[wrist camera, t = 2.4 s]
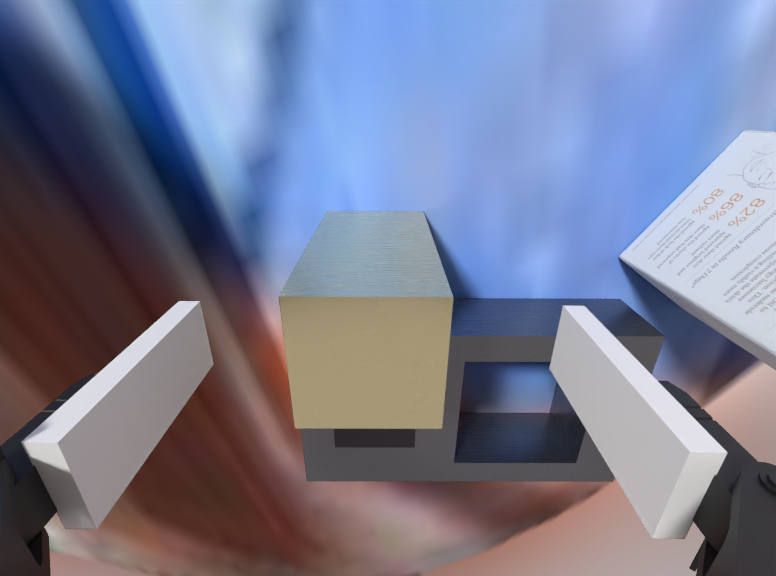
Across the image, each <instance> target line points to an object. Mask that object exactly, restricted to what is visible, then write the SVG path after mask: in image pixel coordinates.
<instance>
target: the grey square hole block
mask: <svg viewBox="0 0 776 576" xmlns="http://www.w3.org/2000/svg"><path fill="white" fill-rule="evenodd" d="M563 305H564V306H585V307H586V308H587V309H588V310H589V311H590V312H591V313H592V314H593V315H594V316H595V317H596V318H597V319H598V320H599V321H600V322H601V323H602V324H603V325H604V326H605V327H606V328H607V329H608V331H609V332H610V333H611V334H612V335H613V336H614V337H615V338H616V339H617V340H618V341H619V342H620V343H621V344H622V345H623V346H624V347H625V348H626V349H627V350H628V351H629V352H630V353H631V354H632V355H633V356H634V357H635V358H636V359H637V360H638V361H639V362H640V363H641V364H642V365H643V366H644V367H645V368H646V369H647V371H648V372H649V373H650V374H652V372H653V369H654V366H655V363H656V361H657V358H658V355H659V352H660V349H661V347H662V344H663V341H664V338H665V336H664V335H663V334H662V333H660V332H659V331H658V330H657V329H656V328H654V327H653V326H652V325H651V324H649V323H648V322H647V321H646V320H645V319H643V318H642V317H641V316H640V315H639V314H637V313H636V312H635V311H634V310H633V309H631V308H630V307H629V306H628V305H627V304H625V303H624V302H623V301H622V300H621V299H479V298H453V308H452V320H451V331H450V343H449V354H448V366H447V377H446V389H445V400H444V412H443V424H442V429H333V428H301V435H302V443H303V452H304V461H305V469H306V478H307V481H613V480H614V475H613V473H612V472H611V470H610V468H609V467H608V465H607V463H606V462H605V460H604V458H603V457H602V455H601V453H600V452H599V450H598V448H597V447H596V445H595V443H594V442H593V440H592V438H591V437H590V435H589V433H588V432H587V430H586V428H585V427H584V425H583V424H582V422H581V420H580V419H579V417H578V415H577V414H576V412H575V410H574V409H573V407H572V405H571V404H570V402H569V400H568V399H567V397H566V395H565V394H564V392H563V390H562V389H561V387H560V385H559V384H558V382H557V384H556V388H555V393H554V397H553V401H552V405H551V409H550V413H459V411H460V402H461V393H462V384H463V375H464V366H465V362H551V359H552V354H553V349H554V345H555V340H556V336H557V331H558V326H559V322H560V317H561V312H562V308H563Z"/></svg>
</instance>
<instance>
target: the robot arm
mask: <svg viewBox="0 0 776 576" xmlns="http://www.w3.org/2000/svg"><path fill="white" fill-rule="evenodd" d="M212 366H213V359H212V354H211V350H210V345H209V340H208V336H207V331H206V326H205V322H204V317H203V312H202V308H201V303H200V301H179V302H177V303H176V304H175V305H174V306H173V307H172V308H171V309H170V310H168V311H167V312H166V313H165V314H164V315H163V316H162V317H161V318H159V319H158V320H157V321H156V322H155V323H154V324H153V325H152V326H151V327H149V328H148V329H147V330H146V331H145V332H144V333H143V334H142V335H140V336H139V337H138V338H137V339H136V340H135V341H134V342H133V343H131V344H130V345H129V346H128V347H127V348H126V349H125V350H124V351H123V352H121V353H120V354H119V355H118V356H117V357H116V358H115V359H114V360H112V361H111V362H110V363H109V364H108V365H107V366H106V367H105V368H103V369H102V370H101V371H100V372H99V373H98V374H91V375H90V376H88V377H86V378H84V379H82V380H81V381H79V382H77V383H75V384H73V385H72V386H70V387H69V388H68V389H67V390H66V391H65V392H63V393H62V394H61V395H60V396H59V397H58V398H56V401H53V402H52V403H51V404H49V405H48V406H47V407H46V408H45V409H44V411H43V412H40V413H39V414H38V415H37V416H35V417H34V418H33V419H32V420H31V421H30V422H28V423H27V424H26V425H25V426H24V427H23V428H21V429H20V430H19V431H18V432H17V433H16V434H14V435H13V436H12V437H11V438H10V439H9V440H7V441H6V442H5V443H4V444H3V445H2V446H0V576H50V553H49V536H48V534H47V532H46V529H45V528H44V526H45V525H46V524H47V523H48V521H49V520H50V519H51V518H52V517H53V516H54V514H55V513H56V512H57V514H58V516H59V518H60V520H61V522H62V524H63V526H64V528H65V529H98V527H99V526H100V524H101V523H102V522H103V520H104V519H105V517H106V516H107V515H108V513H109V512H110V510H111V509H112V507H113V506H114V505H115V503H116V502H117V500H118V499H119V498H120V496H121V495H122V493H123V492H124V490H125V489H126V488H127V486H128V485H129V483H130V482H131V481H132V479H133V478H134V476H135V475H136V473H137V472H138V471H139V469H140V468H141V466H142V465H143V464H144V462H145V461H146V459H147V458H148V456H149V455H150V454H151V452H152V451H153V449H154V448H155V447H156V445H157V444H158V442H159V441H160V439H161V438H162V437H163V435H164V434H165V432H166V431H167V430H168V428H169V427H170V425H171V424H172V422H173V421H174V420H175V418H176V417H177V415H178V414H179V413H180V411H181V410H182V408H183V407H184V405H185V404H186V403H187V401H188V400H189V398H190V397H191V396H192V394H193V393H194V391H195V390H196V388H197V387H198V386H199V384H200V383H201V381H202V380H203V379H204V377H205V376H206V374H207V373H208V371H209V370H210V369H211V367H212ZM549 369H550V370H551V372H552V374H553V375H554V377H555V379H556V380H557V382H558V384H559V385H560V387H561V389H562V390H563V392H564V394H565V395H566V397H567V399H568V400H569V402H570V404H571V405H572V407H573V409H574V410H575V412H576V414H577V415H578V417H579V419H580V420H581V422H582V424H583V425H584V427H585V428H586V430H587V432H588V433H589V435H590V437H591V438H592V440H593V442H594V443H595V445H596V447H597V448H598V450H599V452H600V453H601V455H602V457H603V458H604V460H605V462H606V463H607V465H608V467H609V468H610V470H611V472H612V473H613V475H614V477H615V478H616V480H617V482H618V483H619V485H620V486H621V488H622V490H623V491H624V493H625V495H626V496H627V498H628V500H629V501H630V503H631V505H632V506H633V508H634V509H635V511H636V513H637V515H638V516H639V518H640V520H641V521H642V523H643V525H644V526H645V528H646V529H647V531H648V533H649V535H650V536H651V538H654V539H656V538H657V539H659V538H660V539H685V537H686V535H687V533H688V531H689V529H690V527H691V525H692V523H693V521H694V523H695V524H696V525H697V527H698V528H699V529H700V531H701V532H702V534H703V535H704V536H705V539H704V541H703V543H702V545H701V547H700V549H699V551H698V553H697V554H696V556H695V558H694V560H693V562H692V564H691V566H690V569H691V570H693V571H696V569H697V574H696V576H776V466H775V465H772V464H769V463H765V462H757V460H756V459H754V458H753V456H751V454H749V453H748V452H747V451H746V450H745V449H744V448H743V447H742V446H741V445H740V444H739V443H738V442H737V441H736V440H735V439H734V438H733V437H732V436H731V435H730V434H729V433H728V432H726V430H725V429H724V428H722V427H721V426H720V425H719V424H718V423H717V422H716V421H713V420H712V417H711V416H710V415H709V414H708V413H707V412H706V411H705V410H704V409H701V406H700V405H699V404H698V403H697V402H696V401H695V400H693V399H692V398H691V397H690V396H689V395H688V394H687V393H686V392H684V391H683V390H681V389H680V388H678V387H676V386H675V385H673V384H671V383H670V382H668V381H657V380H656V379H655V378H654V377H653V376H652V375H651V374H650V373H649V372H648V371H647V369H646V368H645V367H644V366H643V365H642V364H641V363H640V362H639V361H638V360H637V359H636V358H635V357H634V356H633V355H632V354H631V353H630V352H629V351H628V350H627V349H626V348H625V347H624V346H623V345H622V344H621V343H620V342H619V341H618V340H617V339H616V338H615V337H614V336H613V335H612V334H611V333H610V332H609V331H608V329H607V328H606V327H605V326H604V325H603V324H602V323H601V322H600V321H599V320H598V319H597V318H596V317H595V316H594V315H593V314H592V313H591V312H590V311H589V310H588V309H587V308H586V307H585V306H564V305H563V308H562V312H561V317H560V322H559V326H558V331H557V336H556V340H555V345H554V349H553V354H552V359H551V363H550V368H549Z"/></svg>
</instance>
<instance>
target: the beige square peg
mask: <svg viewBox="0 0 776 576" xmlns="http://www.w3.org/2000/svg"><path fill="white" fill-rule="evenodd" d="M279 303H280V312H281V320H282V328H283V336H284V344H285V352H286V360H287V368H288V376H289V384H290V392H291V400H292V408H293V416H294V424H295V428H333V429H442V424H443V412H444V400H445V389H446V377H447V366H448V354H449V343H450V331H451V320H452V308H453V294H452V292H451V289H450V286H449V283H448V280H447V277H446V274H445V272H444V269H443V266H442V263H441V260H440V257H439V254H438V252H437V249H436V246H435V243H434V240H433V237H432V234H431V232H430V229H429V226H428V223H427V220H426V217H425V214H424V212H423V211H326V213H325V215H324V217H323V219H322V220H321V222H320V224H319V226H318V227H317V229H316V231H315V233H314V234H313V236H312V238H311V240H310V242H309V243H308V245H307V247H306V249H305V250H304V252H303V254H302V256H301V258H300V259H299V261H298V263H297V265H296V266H295V268H294V270H293V272H292V274H291V275H290V277H289V279H288V281H287V282H286V284H285V286H284V288H283V289H282V291H281V293H280V295H279Z"/></svg>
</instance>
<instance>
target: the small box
mask: <svg viewBox="0 0 776 576" xmlns="http://www.w3.org/2000/svg"><path fill="white" fill-rule="evenodd" d="M619 257H620V259H621V260H622V261H623V262H625V263H626V264H627V265H629V266H630V267H631V268H632V269H634V270H635V271H636V272H637V273H639V274H640V275H641V276H642V277H643V278H645V279H646V280H647V281H648V282H650V283H651V284H652V285H653V286H655V287H656V288H657V289H658V290H660V291H661V292H662V293H663V294H665V295H666V296H667V297H668V298H670V299H671V300H672V301H673V302H675V303H676V304H677V305H678V306H680V307H681V308H682V309H684V310H685V311H687V312H688V313H690V314H691V315H693V316H694V317H696V318H697V319H699V320H700V321H702V322H703V323H705V324H707V325H708V326H710V327H711V328H713V329H714V330H716V331H717V332H719V333H720V334H722V335H723V336H725V337H726V338H728V339H729V340H731V341H732V342H734V343H736V344H737V345H739V346H740V347H742V348H743V349H745V350H746V351H748V352H749V353H751V354H752V355H754V356H755V357H757V358H758V359H760V360H761V361H763V362H764V363H766V364H768V365H769V366H770V367H772V368H774V369H775V370H776V132H764V131H744V132H742V133H741V134H740V135H739V136H738V137H737V138H736V139H735V140H734V141H733V142H732V143H731V144H730V145H729V146H728V147H727V148H726V149H725V150H724V151H723V152H722V153H721V154H720V155H719V156H718V157H717V158H716V159H715V160H714V161H713V162H712V163H711V164H710V165H709V166H708V167H707V168H706V169H705V170H704V171H703V172H702V173H701V174H700V175H699V176H698V177H697V178H696V179H695V180H694V181H693V182H692V183H691V184H690V185H689V186H688V187H687V188H686V189H685V190H684V191H683V192H682V193H681V194H680V195H679V196H678V197H677V198H676V199H675V200H674V201H673V202H672V203H671V204H670V205H669V206H668V207H667V208H666V209H665V210H664V211H663V212H662V213H661V214H660V215H659V216H658V217H657V218H656V219H655V220H654V221H653V222H652V223H651V224H650V225H649V226H648V227H647V228H646V230H645V231H644V232H643V233H642V234H641V235H640V236H639V237H638V238H637V239H636V240H635V241H634V242H633V243H632V244H631V245H630V246H629V247H628V248H627V249H626V250H625V251H624V252H622V253H621V254H620V256H619Z"/></svg>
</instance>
